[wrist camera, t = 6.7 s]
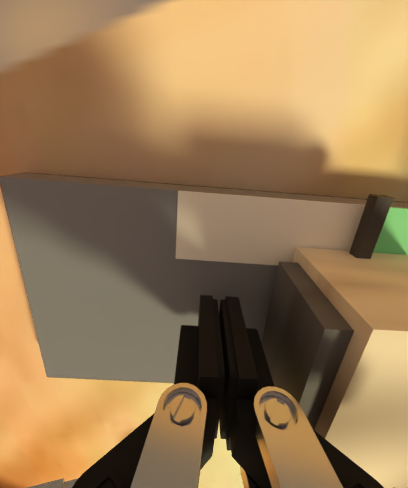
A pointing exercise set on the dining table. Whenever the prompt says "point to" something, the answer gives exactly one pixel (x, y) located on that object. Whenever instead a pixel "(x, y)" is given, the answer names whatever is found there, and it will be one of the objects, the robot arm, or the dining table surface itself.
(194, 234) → the base
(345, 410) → the block
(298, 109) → the dining table surface
